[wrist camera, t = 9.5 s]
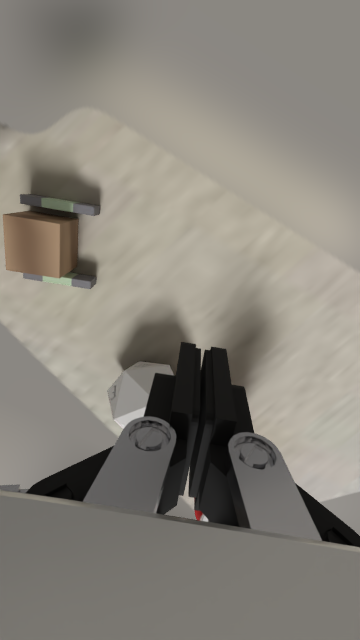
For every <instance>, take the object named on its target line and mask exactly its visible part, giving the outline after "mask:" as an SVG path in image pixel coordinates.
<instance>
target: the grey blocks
mask: <svg viewBox="0 0 360 640" xmlns="http://www.w3.org/2000/svg"><path fill="white" fill-rule="evenodd" d="M20 204H26V205H32V206H38V207H44V208H50V209H56V210H62V211H68V212H74V213H80V214H86V215H92V216H95V215H99V214H100V206H97V205H91V204H86V203H80V202H74V201H68V200H62V199H56V198H50V197H44V196H38V195H32V194H21V195H20ZM23 278H25V279H31V280H37V281H43V282H49V283H56V284H62V285H68V286H74V287H81V288H87V289H91V288H92V287H93V286H94V285H95V284H96V277H95V276H88V275H82V274H76V273H70V272H68V273H67V274H65V275H64V276H62V277H61V278H60V279H59V278H53V277H47V276H40V275H34V274H28V273H23Z"/></svg>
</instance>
